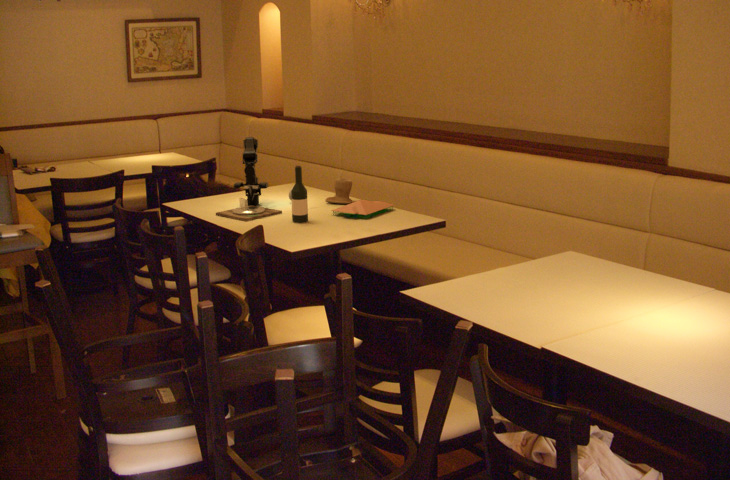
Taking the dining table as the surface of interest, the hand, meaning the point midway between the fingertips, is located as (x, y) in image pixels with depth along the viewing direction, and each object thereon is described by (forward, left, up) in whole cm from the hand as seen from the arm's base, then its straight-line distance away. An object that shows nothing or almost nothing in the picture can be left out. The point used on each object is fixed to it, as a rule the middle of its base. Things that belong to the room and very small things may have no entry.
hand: (251, 200), depth 420 cm
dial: (+6, +4, -5) cm, 9 cm away
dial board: (+6, +4, -6) cm, 10 cm away
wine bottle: (+1, +40, -7) cm, 41 cm away
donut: (-34, +1, -7) cm, 34 cm away
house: (-35, +53, -7) cm, 64 cm away
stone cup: (-49, +24, -7) cm, 54 cm away
